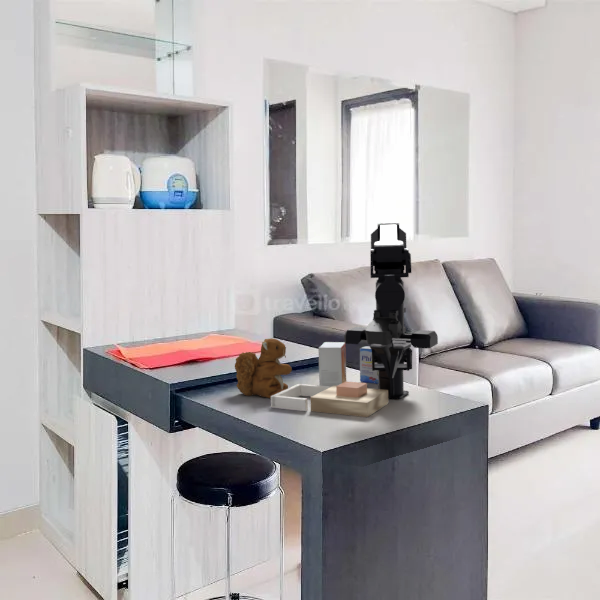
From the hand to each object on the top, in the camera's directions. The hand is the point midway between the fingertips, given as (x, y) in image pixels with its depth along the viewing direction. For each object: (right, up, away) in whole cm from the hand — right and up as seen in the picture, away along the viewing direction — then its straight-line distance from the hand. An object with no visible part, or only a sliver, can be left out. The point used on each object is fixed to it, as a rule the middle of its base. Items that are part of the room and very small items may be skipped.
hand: (391, 378), depth 152 cm
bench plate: (-8, -7, +5) cm, 12 cm away
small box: (-11, -5, +24) cm, 27 cm away
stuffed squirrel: (-28, -6, +20) cm, 35 cm away
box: (-18, -7, +10) cm, 22 cm away
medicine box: (0, -4, +29) cm, 29 cm away
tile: (-8, -4, +4) cm, 10 cm away
